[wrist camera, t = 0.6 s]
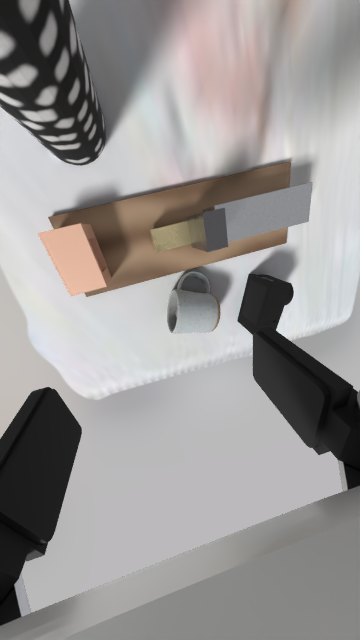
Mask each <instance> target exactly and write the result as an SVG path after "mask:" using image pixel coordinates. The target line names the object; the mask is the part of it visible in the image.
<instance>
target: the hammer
mask: <svg viewBox="0 0 360 640" xmlns="http://www.w3.org/2000/svg"><path fill="white" fill-rule="evenodd" d="M149 231H150V234H151V238H152V242H153V246H154V250H155V251H156V253H157V252H161V251H165V250H169V249H173V248H176V247H180V246H184V245H188V244H191V245H192V247H193V248H196V249H199V250H202V251H205V252H211V251H215V250H218V249H222V248H226V247H228V238H227V226H226V215H225V208H220V209H216V210H212V211H208V212H204V213H200V214H196V215H192V216H188V217H187V221H184V222H180V223H176V224H172V225H168V226H163V227H159V228H155V229H151V230H149Z"/></svg>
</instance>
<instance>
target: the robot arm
mask: <svg viewBox="0 0 360 640" xmlns="http://www.w3.org/2000/svg"><path fill="white" fill-rule="evenodd" d="M253 376H254V379H255V381H256V382H257V383H258V385H259V386H260V387H261V388H262V390H263V391H264V392H265V393H266V395H267V396H268V397H269V399H270V400H271V401H272V402H273V404H274V405H275V406H276V407H277V409H278V410H279V411H280V413H281V414H282V415H283V416H284V418H285V419H286V420H287V421H288V423H289V424H290V425H291V426H292V428H293V429H294V430H295V431H296V433H297V434H298V435H299V436H300V437H301V439H302V440H303V442H304V443H305V444H306V445H307V446H308V447H310V448H313V449H314V450H315V451H316V452H317V453H318V455H320V454H323V453H326V452H329V451H331V452H332V453H333V455H334V456H335V457H336V458H337V459H338V463H339V470H340V476H341V483H342V489H343V492H341V493H338V494H335V495H333V496H330V497H327V498H324V499H322V500H319V501H317V502H314V503H311V504H308V505H306V506H303V507H301V508H298V509H295V510H293V511H290V512H288V513H285V514H282V515H280V516H277V517H275V518H272V519H269V520H267V521H264V522H262V523H259V524H256V525H254V526H251V527H249V528H246V529H244V530H241V531H239V532H236V533H233V534H231V535H228V536H225V537H223V538H220V539H218V540H215V541H213V542H210V543H208V544H205V545H203V546H200V547H197V548H195V549H192V550H190V551H187V552H185V553H182V554H179V555H177V556H174V557H172V558H169V559H167V560H164V561H162V562H159V563H156V564H154V565H151V566H149V567H146V568H144V569H141V570H139V571H136V572H133V573H131V574H128V575H126V576H123V577H121V578H118V579H116V580H113V581H111V582H108V583H106V584H103V585H101V586H98V587H96V588H93V589H91V590H88V591H86V592H83V593H81V594H78V595H76V596H73V597H71V598H68V599H66V600H63V601H60V602H58V603H55V604H53V605H50V606H48V607H45V608H43V609H41V610H38V611H35V612H33V613H31V609H30V606H29V602H28V598H27V594H26V590H25V586H24V582H23V579H22V575H21V571H22V568H23V565H24V563H25V561H29V560H32V559H35V558H38V557H41V556H43V555H45V551H46V548H47V544H48V542H49V541H50V540H51V539H52V537H53V535H54V532H55V528H56V525H57V521H58V518H59V514H60V510H61V507H62V503H63V500H64V496H65V492H66V488H67V485H68V482H69V478H70V474H71V470H72V467H73V463H74V460H75V456H76V452H77V449H78V445H79V442H80V438H81V434H82V429H81V426H80V425H79V423H78V422H77V420H76V419H75V417H74V416H73V415H72V413H71V412H70V410H69V409H68V407H67V406H66V404H65V403H64V401H63V400H62V398H61V397H60V396H59V394H58V393H57V391H56V390H55V389H51V388H50V387H46V388H43V389H39V390H36V391H33V392H31V394H30V395H29V396H28V398H27V399H26V401H25V403H24V404H23V406H22V407H21V409H20V410H19V412H18V413H17V415H16V416H15V418H14V419H13V421H12V422H11V424H10V425H9V427H8V428H7V430H6V431H5V433H4V434H3V436H2V437H1V439H0V640H360V391H359V392H357V391H356V390H354V389H353V386H352V385H351V384H349V383H348V382H346V381H345V380H344V379H342V378H341V377H340V376H338V375H337V374H335V373H334V372H333V371H331V370H330V369H328V368H327V367H326V366H324V365H323V364H321V363H320V362H319V361H317V360H316V359H314V358H313V357H312V356H310V355H309V354H307V353H306V352H305V351H303V350H302V349H301V348H299V347H298V346H296V345H295V344H293V343H292V342H291V341H289V340H288V339H287V338H285V337H284V336H282V335H281V334H280V333H278V332H277V331H275V330H274V329H273V328H271V327H269V326H267V327H263V328H259V329H257V330H256V332H255V333H254V334H253Z"/></svg>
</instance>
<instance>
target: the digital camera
mask: <svg viewBox="0 0 360 640" xmlns="http://www.w3.org/2000/svg"><path fill="white" fill-rule="evenodd" d="M256 276H257V277H256ZM293 294H294V291H293V287H292V284H291V283H288V282H285V281H282V280H280V279H277V278H274V277H271V276H268V275H256V274H249V276H248V280H247V284H246V288H245V292H244V296H243V300H242V304H241V308H240V312H239V316H238V322H239V323H240V324H241V325H242V326H244V327H245V328H246V329H247V330H248V331H249V332H250V333H251V334H252V335H253V334H254V333H255V332H256V330H257V329H259V328H263V327H267V326H269V327H271V328H273V329H274V330H275V331H276V328H277V325H278V323H279V320H280V317H281V314H282V311H283V308H284V305H287V304H289V303H290V301H291V300H292V298H293Z"/></svg>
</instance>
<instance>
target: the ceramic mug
mask: <svg viewBox="0 0 360 640" xmlns="http://www.w3.org/2000/svg"><path fill="white" fill-rule="evenodd" d="M187 276H194V277H197V278H198V279H202V280H203V282H204V284H205V293H200V292H193V291H186V290H182V289H181V285H182V283H183V281H184V279H185V278H186V277H187ZM219 319H220V305H219V302H218V300H217V298H216V297H215V296H213V295H211V294H210V284H209V280H208V279H207V277H206V276H205V275H204V274H202V273H200V272H196V271H190V272H188V273H186V274H185V275H183V276H182V278H181V279H180V281H179V283H178V286H177V289H174V290H172V292H171V294H170V297H169V301H168V308H167V322H168V326H169V330H170V332H171V333H206V332H211V331H213V330H214V329H215V328H216V327H217V325H218V323H219Z"/></svg>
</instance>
